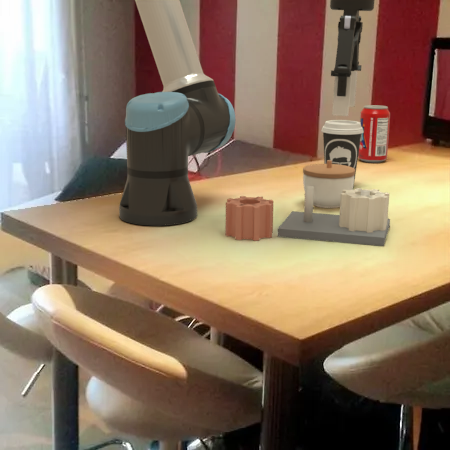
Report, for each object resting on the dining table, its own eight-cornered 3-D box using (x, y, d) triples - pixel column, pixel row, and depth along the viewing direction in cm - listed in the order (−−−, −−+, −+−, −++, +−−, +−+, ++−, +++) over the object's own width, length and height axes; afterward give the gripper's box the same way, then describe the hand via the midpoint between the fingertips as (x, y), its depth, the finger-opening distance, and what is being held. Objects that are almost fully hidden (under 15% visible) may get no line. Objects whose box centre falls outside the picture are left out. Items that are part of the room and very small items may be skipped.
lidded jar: (352, 212, 149) (354, 166, 146) (299, 209, 151) (300, 164, 148) (354, 200, 159) (356, 157, 156) (304, 197, 161) (305, 155, 158)
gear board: (277, 236, 132) (278, 192, 129) (292, 218, 144) (293, 178, 141) (383, 246, 126) (386, 200, 124) (389, 226, 138) (392, 184, 136)
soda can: (380, 164, 198) (384, 108, 194) (353, 161, 202) (356, 106, 198) (391, 160, 205) (394, 105, 201) (364, 157, 209) (367, 103, 205)
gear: (223, 239, 129) (223, 206, 128) (228, 226, 137) (228, 195, 136) (271, 241, 128) (271, 208, 127) (273, 228, 136) (274, 197, 135)
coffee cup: (369, 188, 170) (373, 123, 166) (338, 193, 165) (341, 126, 161) (340, 180, 178) (343, 118, 174) (310, 185, 173) (312, 121, 169)
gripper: (371, -16, 115) (360, 121, 121) (379, -11, 138) (369, 104, 144) (322, -17, 116) (314, 118, 122) (338, -12, 140) (330, 101, 145)
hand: (343, 110), depth 133 cm, fingers open, 13 cm apart
